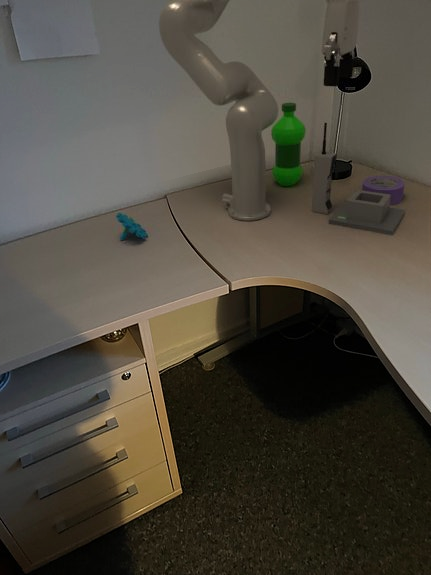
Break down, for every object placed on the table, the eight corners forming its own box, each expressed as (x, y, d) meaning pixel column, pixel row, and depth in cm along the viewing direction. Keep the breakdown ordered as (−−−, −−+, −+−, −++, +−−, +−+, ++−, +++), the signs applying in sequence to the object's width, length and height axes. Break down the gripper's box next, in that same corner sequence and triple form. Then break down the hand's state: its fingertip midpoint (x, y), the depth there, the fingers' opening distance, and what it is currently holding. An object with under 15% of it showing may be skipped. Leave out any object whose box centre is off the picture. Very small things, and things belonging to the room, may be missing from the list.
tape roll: (355, 202, 139) (357, 186, 136) (367, 188, 147) (369, 172, 144) (396, 208, 133) (399, 192, 131) (406, 193, 142) (409, 178, 139)
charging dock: (328, 223, 128) (330, 202, 125) (344, 204, 138) (346, 184, 134) (391, 235, 120) (395, 213, 117) (404, 213, 130) (408, 192, 127)
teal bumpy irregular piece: (149, 239, 124) (118, 217, 120) (136, 255, 125) (104, 234, 121) (148, 226, 134) (119, 205, 130) (136, 242, 135) (107, 222, 131)
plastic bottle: (305, 178, 157) (309, 100, 143) (298, 190, 149) (301, 108, 135) (276, 176, 160) (277, 100, 146) (268, 187, 152) (268, 108, 138)
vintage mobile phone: (327, 214, 133) (334, 125, 119) (311, 211, 135) (316, 123, 121) (332, 209, 135) (339, 121, 121) (316, 207, 138) (321, 120, 124)
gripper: (340, -9, 104) (335, 74, 114) (312, -3, 92) (308, 88, 102) (374, -11, 101) (365, 75, 110) (349, -5, 89) (341, 90, 98)
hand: (338, 81), depth 106 cm, fingers open, 9 cm apart
